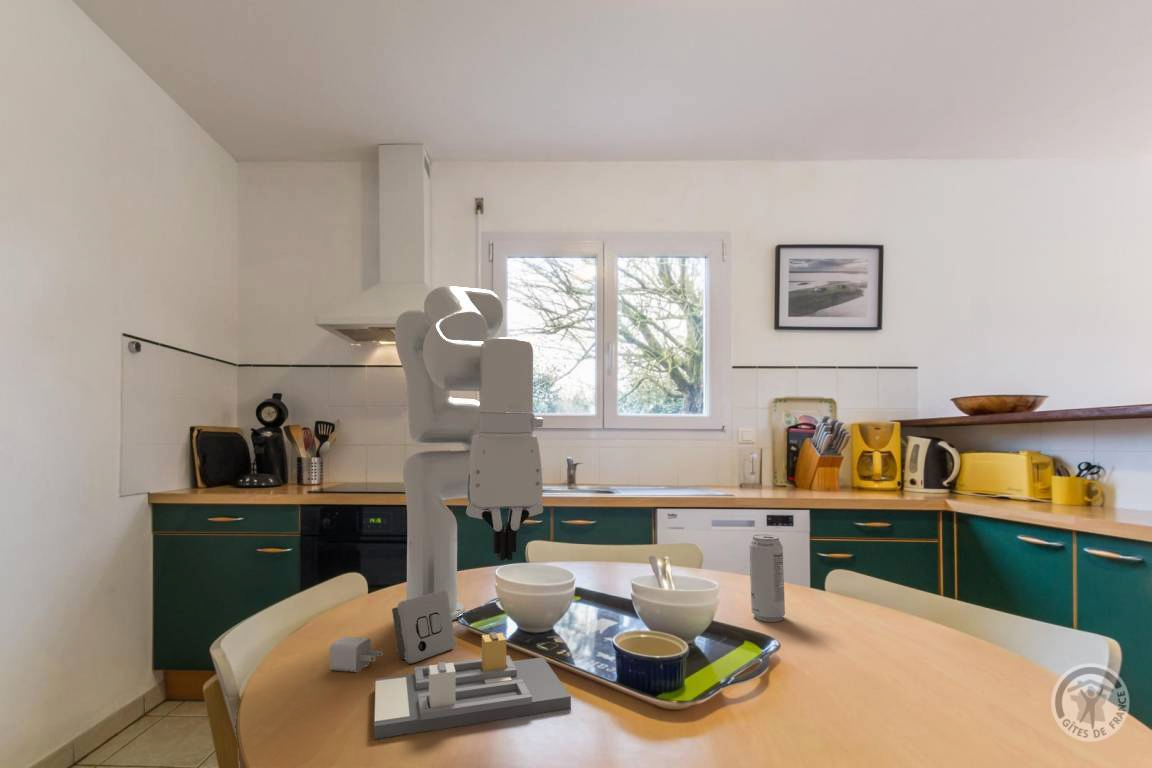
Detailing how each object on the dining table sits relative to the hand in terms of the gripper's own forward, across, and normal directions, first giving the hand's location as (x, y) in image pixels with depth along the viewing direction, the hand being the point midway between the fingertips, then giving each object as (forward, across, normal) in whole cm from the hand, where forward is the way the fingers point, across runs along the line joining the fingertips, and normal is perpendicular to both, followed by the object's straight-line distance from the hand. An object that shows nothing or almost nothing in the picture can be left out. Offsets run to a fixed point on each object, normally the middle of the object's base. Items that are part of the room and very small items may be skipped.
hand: (504, 557), depth 84 cm
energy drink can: (+18, -53, -16) cm, 58 cm away
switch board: (+18, +5, +1) cm, 19 cm away
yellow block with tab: (+16, +1, -3) cm, 17 cm away
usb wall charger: (+19, +20, -14) cm, 31 cm away
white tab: (+16, +9, +6) cm, 19 cm away
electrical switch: (+19, +10, -18) cm, 28 cm away
